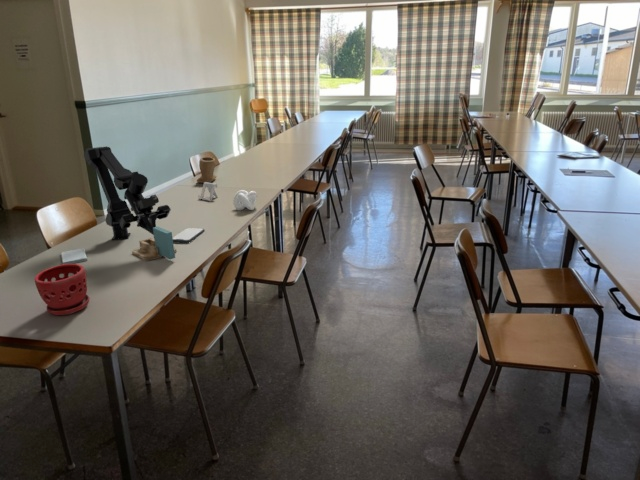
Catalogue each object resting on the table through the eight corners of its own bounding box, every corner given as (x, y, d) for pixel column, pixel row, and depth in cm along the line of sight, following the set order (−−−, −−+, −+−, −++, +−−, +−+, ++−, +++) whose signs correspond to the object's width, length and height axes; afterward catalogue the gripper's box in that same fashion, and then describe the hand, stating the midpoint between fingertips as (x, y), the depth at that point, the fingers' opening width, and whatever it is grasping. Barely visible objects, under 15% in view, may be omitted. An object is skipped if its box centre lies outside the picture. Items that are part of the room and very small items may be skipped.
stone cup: (213, 184, 291) (210, 159, 286) (194, 184, 293) (191, 159, 287) (221, 178, 305) (219, 154, 300) (203, 178, 307) (200, 154, 301)
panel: (156, 252, 182) (152, 227, 179) (161, 251, 184) (157, 226, 180) (170, 259, 176) (166, 233, 172) (175, 257, 177) (171, 232, 174)
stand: (132, 253, 186) (130, 243, 184) (160, 244, 194) (159, 235, 192) (147, 261, 178) (146, 251, 176) (176, 251, 186) (175, 242, 184)
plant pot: (66, 296, 152) (58, 261, 148) (101, 301, 148) (94, 265, 144) (32, 316, 140) (22, 278, 136) (69, 321, 137) (60, 283, 133)
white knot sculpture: (260, 211, 234) (258, 193, 231) (235, 213, 232) (233, 195, 229) (257, 205, 245) (255, 188, 242) (233, 207, 242) (231, 190, 239)
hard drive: (87, 257, 180) (83, 247, 190) (62, 262, 176) (60, 252, 186) (87, 262, 180) (84, 251, 191) (63, 266, 177) (61, 256, 187)
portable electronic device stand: (198, 199, 258) (196, 184, 256) (209, 196, 264) (207, 181, 262) (209, 201, 254) (207, 186, 251) (220, 198, 260) (219, 183, 257)
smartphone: (187, 231, 211) (169, 243, 196) (186, 227, 211) (168, 239, 196) (206, 232, 209) (189, 244, 195) (205, 228, 209) (188, 240, 194)
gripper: (117, 194, 172) (137, 229, 169) (164, 184, 185) (184, 217, 181) (111, 211, 180) (130, 245, 177) (157, 200, 193) (175, 232, 189)
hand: (155, 234), depth 181 cm, fingers closed
